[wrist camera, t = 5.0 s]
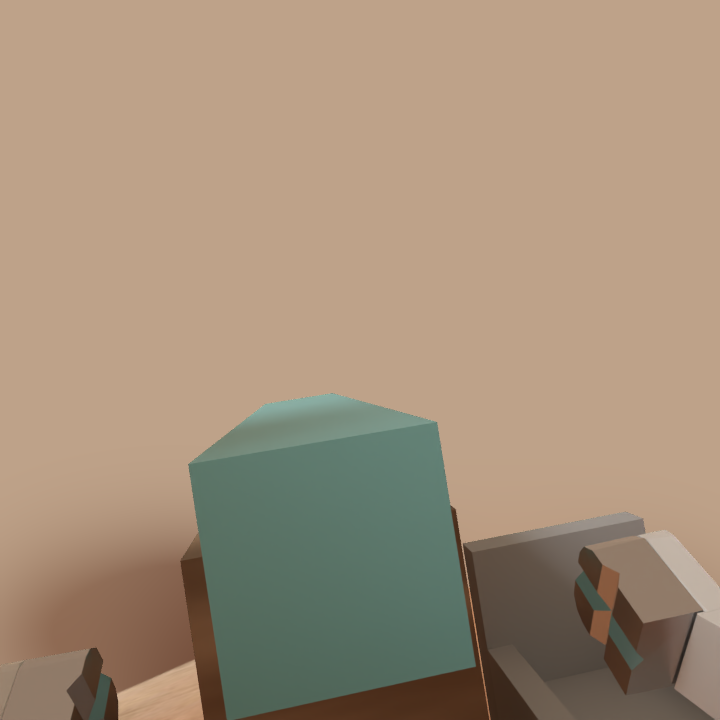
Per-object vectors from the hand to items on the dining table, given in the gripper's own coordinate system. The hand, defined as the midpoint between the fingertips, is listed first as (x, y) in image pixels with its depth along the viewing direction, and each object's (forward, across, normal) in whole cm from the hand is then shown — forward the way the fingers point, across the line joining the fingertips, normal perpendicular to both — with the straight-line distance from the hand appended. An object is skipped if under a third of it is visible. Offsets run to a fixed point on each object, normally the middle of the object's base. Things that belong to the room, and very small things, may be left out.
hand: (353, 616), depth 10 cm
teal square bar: (+10, 0, -7) cm, 12 cm away
